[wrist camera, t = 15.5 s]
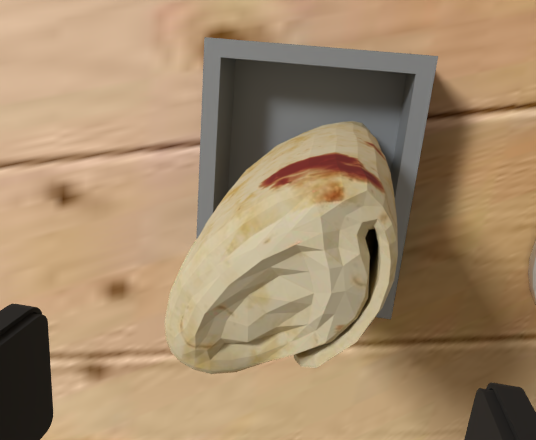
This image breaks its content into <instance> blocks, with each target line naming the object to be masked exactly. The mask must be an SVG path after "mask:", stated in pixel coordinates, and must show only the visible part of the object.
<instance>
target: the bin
mask: <svg viewBox="0 0 536 440" xmlns="http://www.w3.org/2000/svg"><path fill="white" fill-rule="evenodd" d="M437 59H438V56H429V55H416V54H404V53H392V52H379V51H367V50H354V49H342V48H330V47H317V46H305V45H292V44H280V43H268V42H255V41H243V40H230V39H218V38H206V37H205V40H204V65H203V90H202V115H201V140H200V165H199V190H198V215H197V238H198V236H199V235H200V234H201V232H202V230H203V228H204V226H205V224H206V223H207V221H208V220H209V218H210V217H211V215H212V214H213V212H214V211H215V210H216V208H217V206H218V205H219V204H220V202H221V201H222V199H223V198H224V197H225V195H226V194H227V193H228V191H229V190H230V189H231V188H232V187H233V186H234V184H235V183H236V182H237V181H238V179H239V178H240V177H241V176H242V174H243V173H244V172H245V171H246V170H247V169H248V168H249V167H251V166H252V165H253V164H254V163H256V162H257V161H258V160H259V159H261V158H262V157H263V156H265V155H266V154H267V153H268V152H270V151H271V150H272V149H273V148H274V147H276V146H277V145H279V144H281V143H283V142H285V141H287V140H289V139H291V138H294V137H296V136H298V135H300V134H302V133H304V132H307V131H309V130H312V129H314V128H317V127H320V126H322V125H327V124H333V123H338V122H347V121H355V122H360V123H363V124H364V125H365V126H366V127H367V129H368V130H370V133H371V134H372V135H373V136H374V137H375V138H376V139H377V141H378V144H379V146H380V149H381V151H382V153H383V154H384V156H385V158H386V161H387V164H388V167H389V170H390V173H391V180H392V185H393V190H394V198H395V207H396V215H397V237H398V258H397V265H396V271H395V278H394V282H393V284H392V287H391V289H390V291H389V294H388V296H387V298H386V301H385V303H384V305H383V308H382V309H381V310H380V312H379V313H378V314H377V316H376V317H379V318H386V319H391V317H392V311H393V305H394V300H395V294H396V289H397V283H398V277H399V272H400V266H401V261H402V255H403V249H404V244H405V238H406V233H407V227H408V221H409V216H410V210H411V205H412V199H413V194H414V188H415V182H416V177H417V171H418V166H419V160H420V154H421V149H422V143H423V138H424V132H425V126H426V121H427V115H428V110H429V104H430V98H431V93H432V87H433V82H434V76H435V70H436V65H437Z"/></svg>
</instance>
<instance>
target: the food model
mask: <svg viewBox="0 0 536 440" xmlns="http://www.w3.org/2000/svg"><path fill="white" fill-rule="evenodd" d="M397 258H398V237H397V215H396V207H395V198H394V190H393V185H392V180H391V173H390V170H389V167H388V164H387V161H386V158H385V156H384V154H383V153H382V151H381V149H380V146H379V144H378V141H377V139H376V138H375V137H374V136H373V135H372V134H371V133H370V130H368V129H367V127H366V126H365V125H364V124H363V123H360V122H355V121H347V122H338V123H333V124H327V125H322V126H320V127H317V128H314V129H312V130H309V131H307V132H304V133H302V134H300V135H298V136H296V137H294V138H291V139H289V140H287V141H285V142H283V143H281V144H279V145H277V146H276V147H274V148H273V149H272V150H271V151H270V152H268V153H267V154H266V155H265V156H263V157H262V158H261V159H259V160H258V161H257V162H256V163H254V164H253V165H252V166H251V167H249V168H248V169H247V170H246V171H245V172H244V173H243V174H242V176H241V177H240V178H239V179H238V181H237V182H236V183H235V184H234V186H233V187H232V188H231V189H230V190H229V191H228V193H227V194H226V195H225V197H224V198H223V199H222V201H221V202H220V204H219V205H218V206H217V208H216V210H215V211H214V212H213V214H212V215H211V217H210V218H209V220H208V221H207V223H206V224H205V226H204V228H203V230H202V232H201V234H200V235H199V236H198V238H197V239H196V241H195V242H194V243H193V245H192V247H191V249H190V250H189V252H188V254H187V256H186V258H185V260H184V262H183V264H182V266H181V268H180V270H179V273H178V275H177V277H176V280H175V282H174V284H173V287H172V289H171V291H170V295H169V300H168V306H167V311H166V317H165V335H166V340H167V343H168V345H169V348H170V350H171V352H172V353H173V354H174V355H175V356H176V357H177V359H178V360H179V361H180V362H182V363H183V364H185V365H187V366H188V367H190V368H192V369H194V370H198V371H202V372H206V373H210V374H217V373H230V372H237V371H240V370H243V369H246V368H249V367H252V366H255V365H259V364H262V363H265V362H268V361H272V360H276V359H280V358H284V357H288V356H292V355H294V358H295V360H296V361H297V363H298V364H299V365H300V366H301V367H313V368H317V367H319V366H320V365H322V364H323V363H325V362H327V361H328V360H330V359H331V358H333V357H334V356H336V355H337V354H339V353H340V352H342V351H343V350H345V349H346V348H348V347H349V346H351V345H353V344H354V343H356V342H357V341H358V339H359V338H360V337H361V336H362V334H363V333H364V332H365V330H366V329H367V328H368V326H369V325H370V324H371V322H372V321H373V320H374V318H375V317H376V316H377V314H378V313H379V312H380V310H381V309H382V308H383V305H384V303H385V301H386V298H387V296H388V294H389V291H390V289H391V287H392V284H393V282H394V278H395V271H396V265H397Z"/></svg>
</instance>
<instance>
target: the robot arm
mask: <svg viewBox="0 0 536 440" xmlns="http://www.w3.org/2000/svg"><path fill="white" fill-rule="evenodd" d="M528 278H529V286H530V291H531V294H532V297H533V299H534V302H535V305H536V241H535V243H534V246H533V249H532V253H531V256H530V260H529V270H528ZM52 419H53V402H52V386H51V369H50V352H49V336H48V321H47V318H46V316H44V315H42V312H41V310H40V309H39V308H37V307H31V306H25V305H19V304H11V305H8V306H7V307H5V308H4V309H2V310H1V311H0V440H40V439H41V438H42V437H43V436H44V434H45V433H46V432H47V431H48V429H49V427H50V425H51V422H52ZM464 440H536V412H535V410H534V409H533V407H532V405H531V403H530V401H529V399H528V397H527V396H526V394H525V392H524V390H523V389H522V388H520V387H515V386H509V385H503V384H497V383H489V384H488V386H487V388H486V389H482V388H479V389H478V390H477V392H476V395H475V399H474V403H473V407H472V411H471V415H470V419H469V423H468V427H467V431H466V435H465V439H464Z"/></svg>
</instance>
